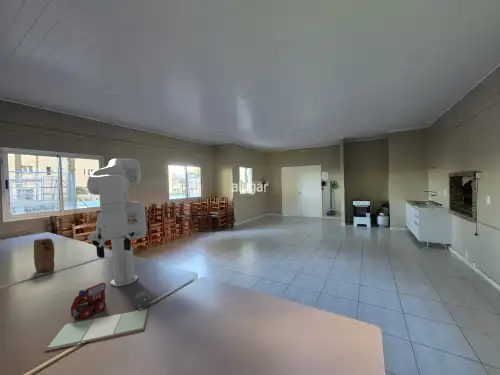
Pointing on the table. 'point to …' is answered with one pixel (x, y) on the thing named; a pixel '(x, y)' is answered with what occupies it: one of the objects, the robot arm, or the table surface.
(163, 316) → the table surface
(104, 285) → the toy fire truck
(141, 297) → the die
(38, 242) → the block
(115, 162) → the robot arm
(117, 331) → the pale green flat board
